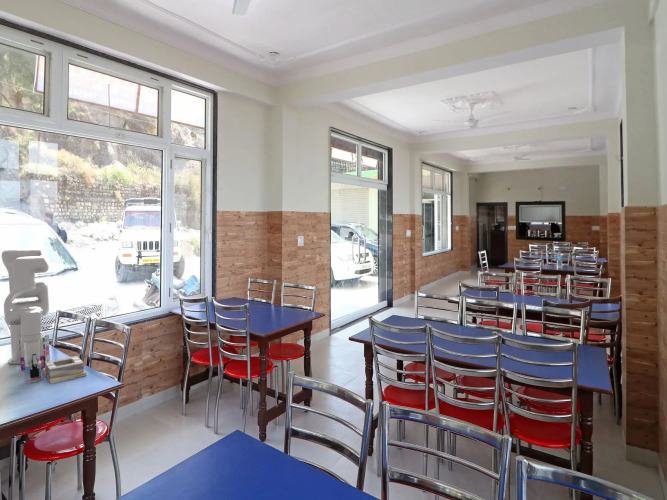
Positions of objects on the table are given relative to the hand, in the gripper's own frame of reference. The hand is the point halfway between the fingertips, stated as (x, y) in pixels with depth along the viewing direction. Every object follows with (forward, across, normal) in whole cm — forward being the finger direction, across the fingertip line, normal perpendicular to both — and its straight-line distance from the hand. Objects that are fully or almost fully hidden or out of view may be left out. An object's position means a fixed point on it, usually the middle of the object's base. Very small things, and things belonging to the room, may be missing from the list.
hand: (33, 374), depth 182 cm
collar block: (+3, 0, +12) cm, 12 cm away
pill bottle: (+3, 0, 0) cm, 3 cm away
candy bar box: (+3, -18, +3) cm, 18 cm away
